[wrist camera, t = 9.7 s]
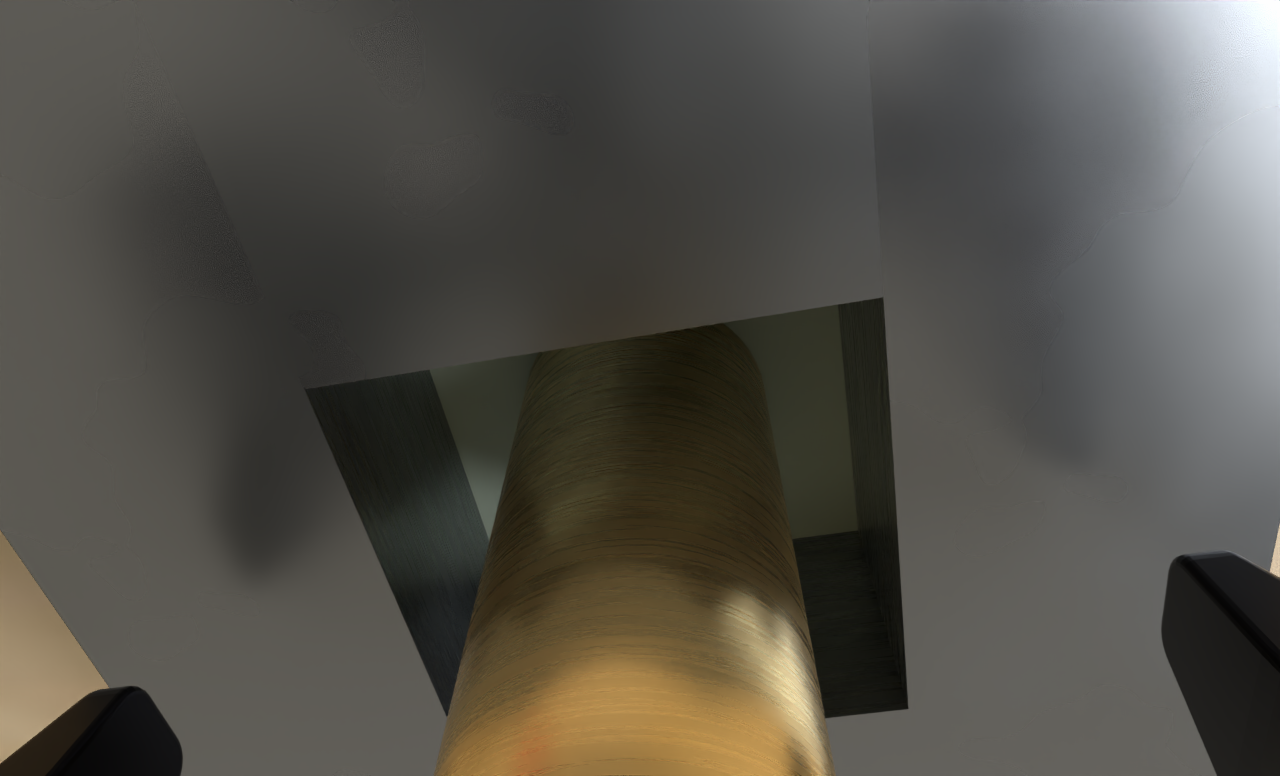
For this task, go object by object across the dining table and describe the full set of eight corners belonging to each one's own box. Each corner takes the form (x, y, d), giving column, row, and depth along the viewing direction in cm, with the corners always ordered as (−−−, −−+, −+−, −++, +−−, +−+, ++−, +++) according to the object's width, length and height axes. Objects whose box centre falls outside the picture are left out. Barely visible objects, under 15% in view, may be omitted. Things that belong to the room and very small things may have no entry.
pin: (778, 484, 12) (1045, 1989, 4) (556, 515, 13) (338, 1961, 4) (749, 278, 11) (1088, 2009, 2) (498, 319, 11) (-38, 1964, 3)
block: (1107, 677, 14) (1208, 868, 12) (352, 761, 15) (290, 950, 13) (1201, -285, 8) (1458, -335, 5) (-58, -8, 9) (-329, 55, 7)
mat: (1147, 961, 19) (1156, 982, 18) (432, 1017, 20) (428, 1038, 20) (1356, -317, 8) (1388, -324, 8) (-160, 14, 10) (-190, 20, 10)
